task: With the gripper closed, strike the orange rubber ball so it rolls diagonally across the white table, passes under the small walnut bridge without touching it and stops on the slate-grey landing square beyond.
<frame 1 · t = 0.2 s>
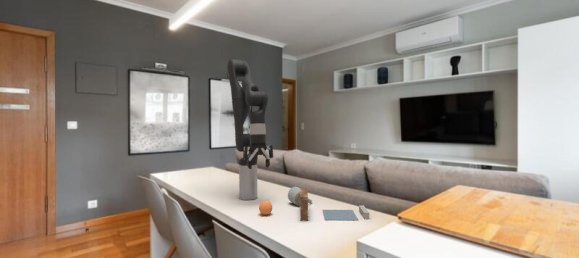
hand: (258, 168, 130), 17 cm above the table, tool pointing down, fingers open, 8 cm apart
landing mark: (339, 214, 114), on the table
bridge: (304, 214, 114), on the table
stopper: (364, 215, 113), on the table
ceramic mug: (300, 204, 131), on the table
ball: (265, 207, 115), on the table
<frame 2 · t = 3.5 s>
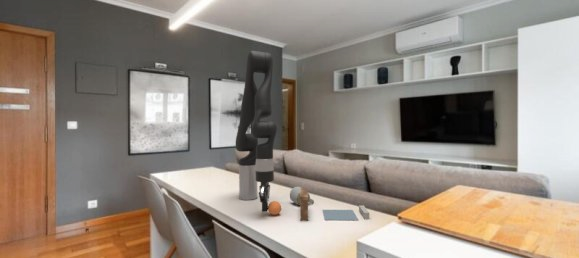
hand: (265, 211, 114), 2 cm above the table, tool pointing down, fingers closed
ball: (274, 207, 115), on the table
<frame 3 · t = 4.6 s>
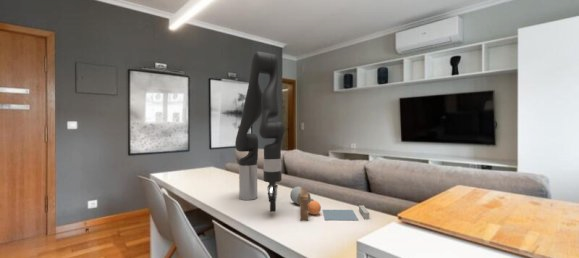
hand: (272, 211, 115), 1 cm above the table, tool pointing down, fingers closed
ball: (314, 207, 115), on the table
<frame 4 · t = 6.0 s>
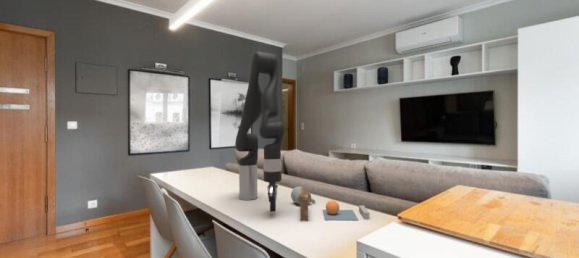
hand: (272, 211, 115), 1 cm above the table, tool pointing down, fingers closed
ball: (332, 207, 115), on the table
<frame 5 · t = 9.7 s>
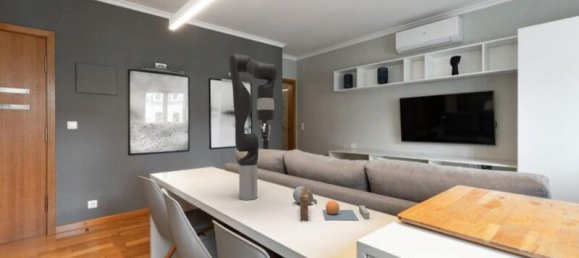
hand: (265, 148, 121), 27 cm above the table, tool pointing down, fingers closed
at the end: ball 2.9 cm from the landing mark (horizontally); ball never touched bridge; ball at rest at the end (0.0 cm/s) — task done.
